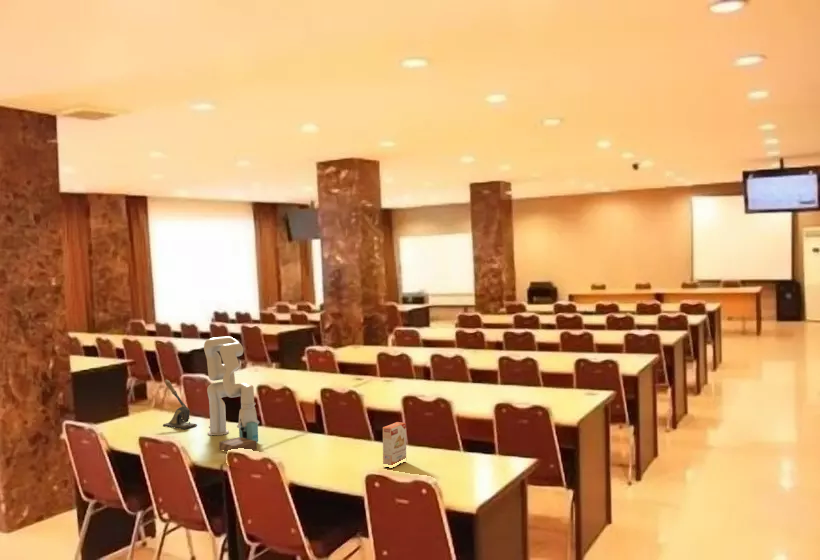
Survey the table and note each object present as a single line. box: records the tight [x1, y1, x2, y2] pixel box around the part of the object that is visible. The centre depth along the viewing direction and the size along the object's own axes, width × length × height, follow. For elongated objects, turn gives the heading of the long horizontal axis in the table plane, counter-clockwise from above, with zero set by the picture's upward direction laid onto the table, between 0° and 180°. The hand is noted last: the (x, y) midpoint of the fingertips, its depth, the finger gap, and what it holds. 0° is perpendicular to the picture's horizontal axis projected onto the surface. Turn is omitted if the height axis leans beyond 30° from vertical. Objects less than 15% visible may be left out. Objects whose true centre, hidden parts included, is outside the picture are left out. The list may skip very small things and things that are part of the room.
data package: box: [238, 422, 259, 444], centre depth 422 cm, size 12×4×12 cm, turn 51°
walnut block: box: [218, 437, 257, 452], centre depth 406 cm, size 16×14×5 cm
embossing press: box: [162, 379, 198, 430], centre depth 468 cm, size 11×24×30 cm, turn 54°
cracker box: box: [382, 421, 407, 465], centre depth 369 cm, size 14×6×21 cm, turn 148°
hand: (248, 436), depth 422 cm, fingers closed on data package, 4 cm apart
